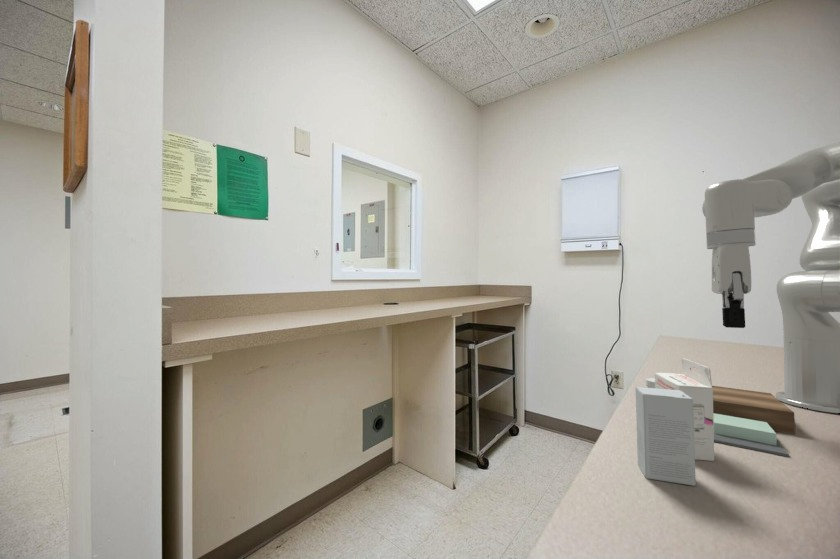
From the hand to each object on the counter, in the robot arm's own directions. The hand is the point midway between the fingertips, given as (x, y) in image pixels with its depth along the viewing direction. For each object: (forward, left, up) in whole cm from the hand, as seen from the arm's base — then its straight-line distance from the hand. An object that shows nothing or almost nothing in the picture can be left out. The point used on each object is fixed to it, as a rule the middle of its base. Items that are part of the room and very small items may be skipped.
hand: (733, 327), depth 69 cm
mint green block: (+10, -1, -17) cm, 20 cm away
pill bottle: (+12, -13, -19) cm, 26 cm away
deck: (-3, 0, -19) cm, 19 cm away
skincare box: (+35, -13, -19) cm, 42 cm away
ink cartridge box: (+23, -10, -19) cm, 32 cm away
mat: (+11, -3, -19) cm, 22 cm away
